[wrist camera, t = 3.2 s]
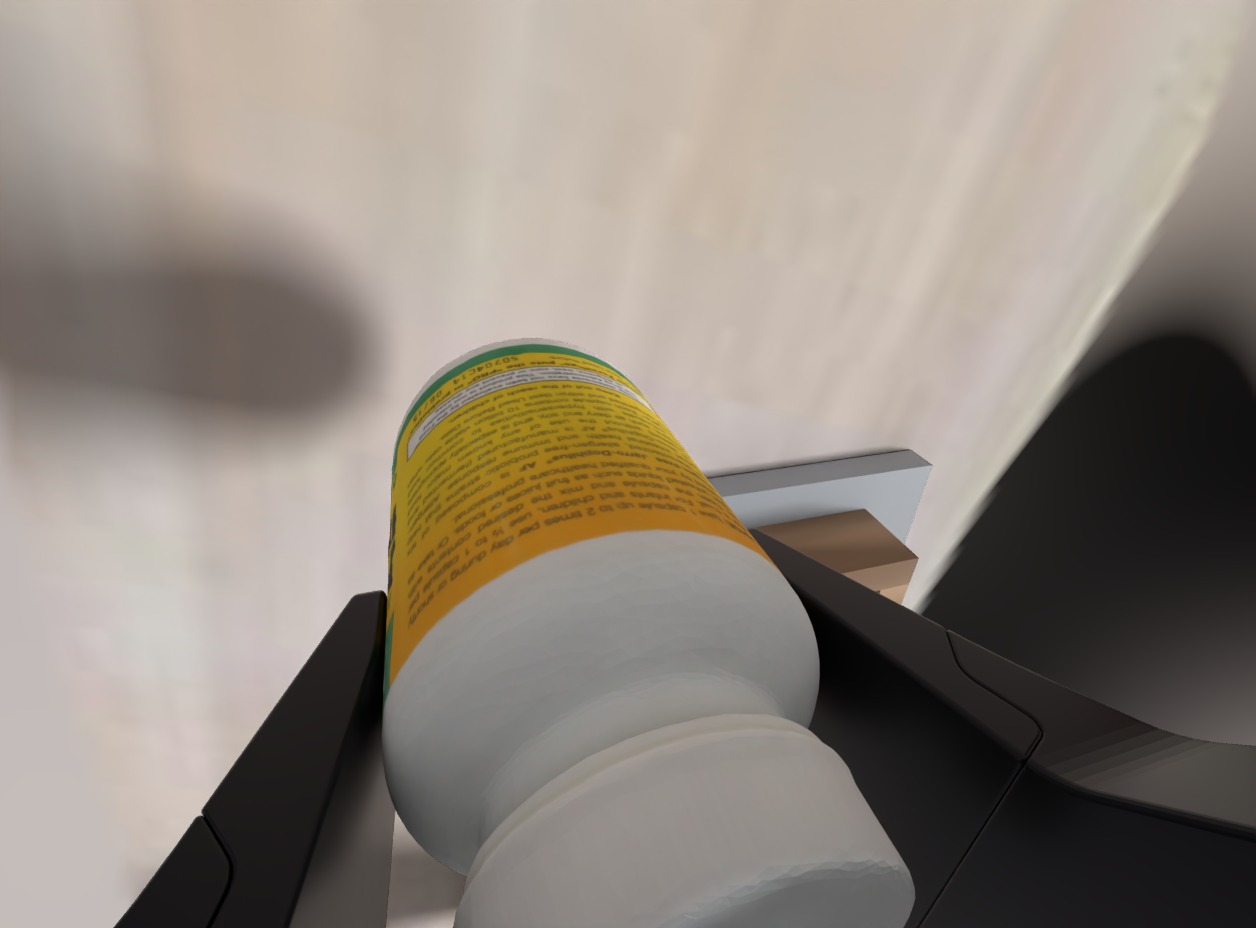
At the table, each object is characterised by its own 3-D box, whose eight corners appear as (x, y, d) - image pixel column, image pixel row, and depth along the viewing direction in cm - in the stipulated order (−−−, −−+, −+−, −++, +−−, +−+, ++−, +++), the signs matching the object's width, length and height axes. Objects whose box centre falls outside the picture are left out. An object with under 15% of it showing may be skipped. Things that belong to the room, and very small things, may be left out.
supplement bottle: (674, 484, 14) (987, 942, 7) (473, 586, 14) (557, 1186, 6) (592, 280, 11) (1004, 702, 4) (331, 405, 11) (163, 1156, 3)
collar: (818, 663, 28) (857, 718, 25) (637, 707, 25) (662, 773, 23) (865, 508, 23) (918, 557, 21) (650, 545, 21) (682, 605, 18)
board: (843, 655, 30) (857, 674, 29) (571, 721, 26) (577, 746, 26) (911, 449, 24) (932, 465, 23) (568, 498, 20) (577, 519, 19)
